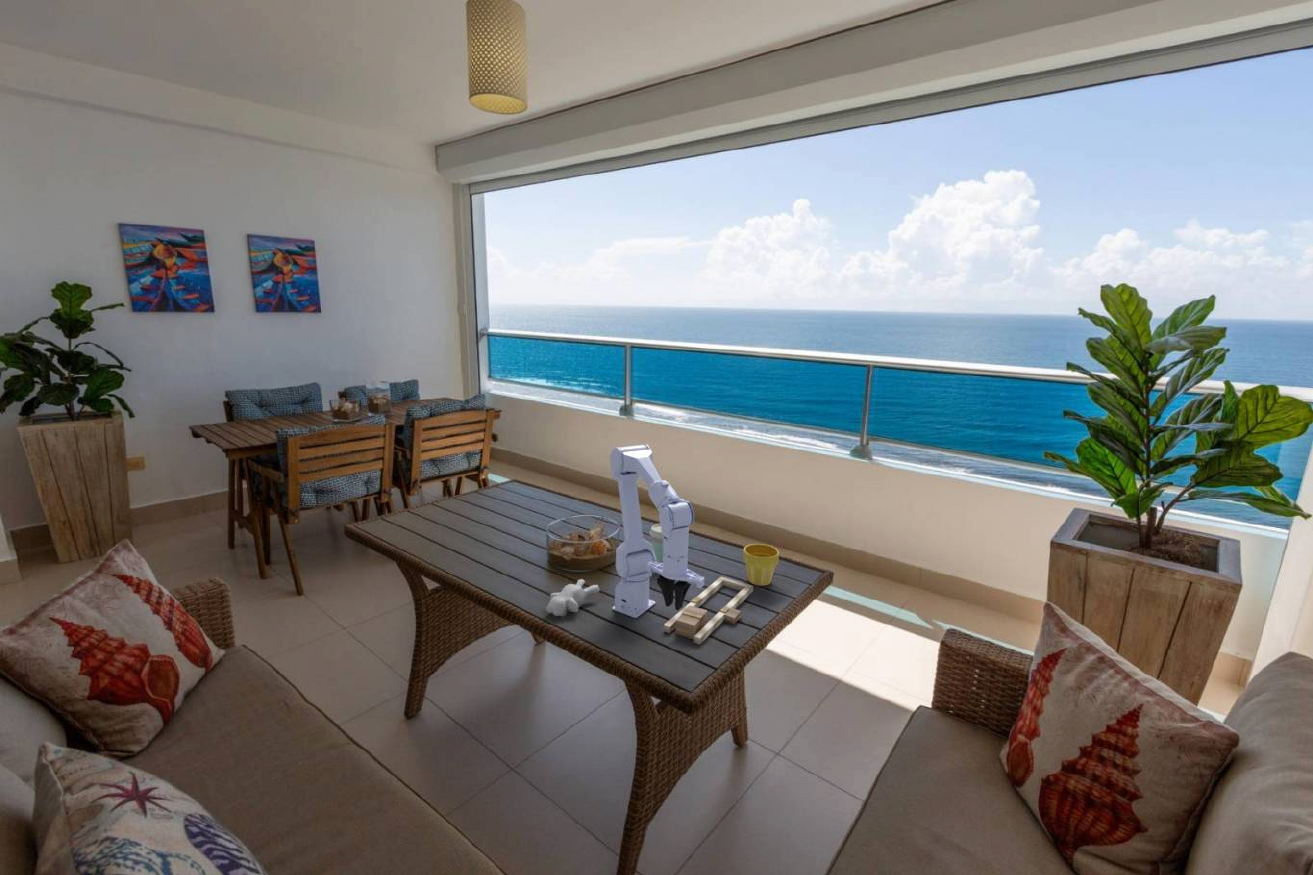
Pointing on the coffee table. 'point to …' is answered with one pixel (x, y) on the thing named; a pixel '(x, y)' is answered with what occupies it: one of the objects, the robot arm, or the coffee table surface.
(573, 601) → the bunny figurine
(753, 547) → the plant pot
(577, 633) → the coffee table surface
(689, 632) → the rider block
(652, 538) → the coffee cup
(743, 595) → the beam slot
